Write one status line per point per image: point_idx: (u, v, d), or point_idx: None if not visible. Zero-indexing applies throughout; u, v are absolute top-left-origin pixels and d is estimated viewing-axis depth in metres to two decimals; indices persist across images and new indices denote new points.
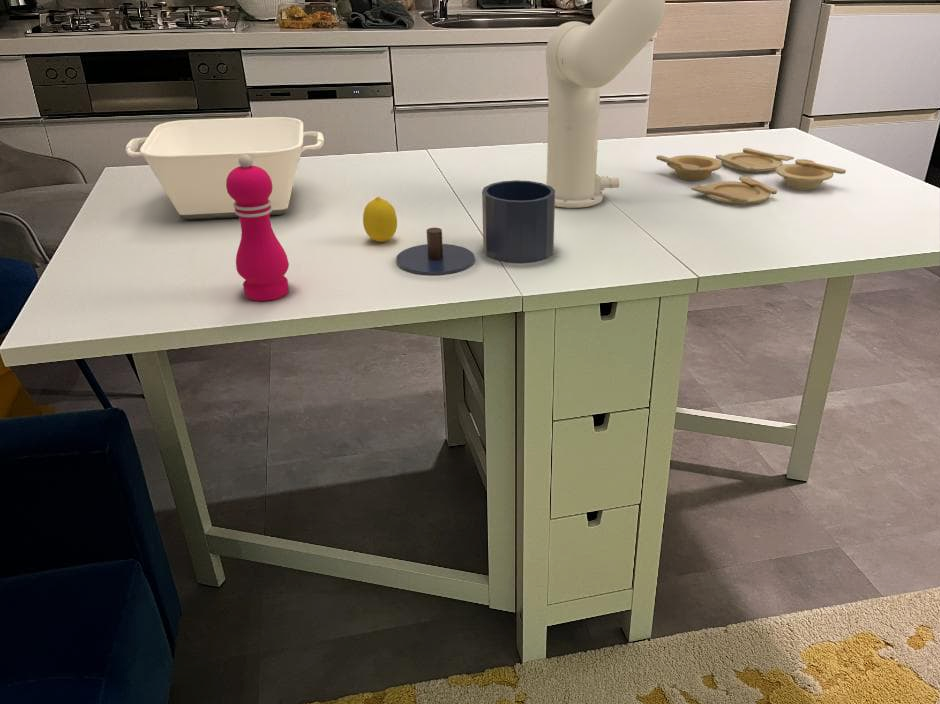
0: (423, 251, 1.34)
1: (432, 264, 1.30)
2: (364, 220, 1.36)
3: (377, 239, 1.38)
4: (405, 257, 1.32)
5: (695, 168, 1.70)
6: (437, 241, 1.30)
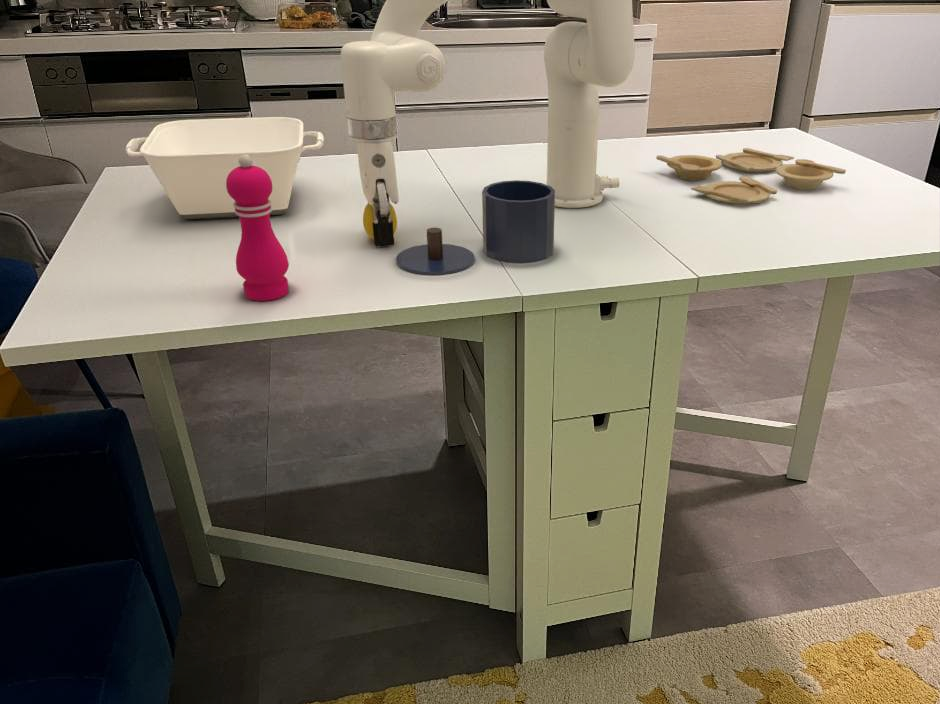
0: (423, 251, 1.34)
1: (432, 264, 1.30)
2: (364, 220, 1.36)
3: None
4: (405, 257, 1.32)
5: (695, 168, 1.70)
6: (437, 241, 1.30)
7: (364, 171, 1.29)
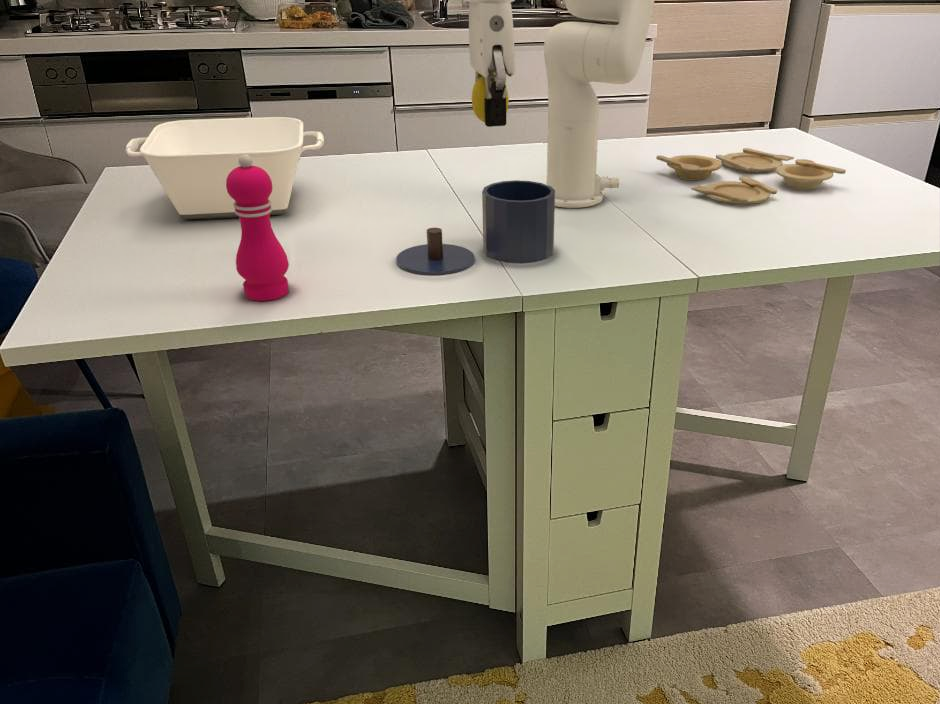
0: (423, 251, 1.34)
1: (432, 264, 1.30)
2: (474, 97, 1.24)
3: None
4: (405, 257, 1.32)
5: (695, 168, 1.70)
6: (437, 241, 1.30)
7: (480, 36, 1.17)
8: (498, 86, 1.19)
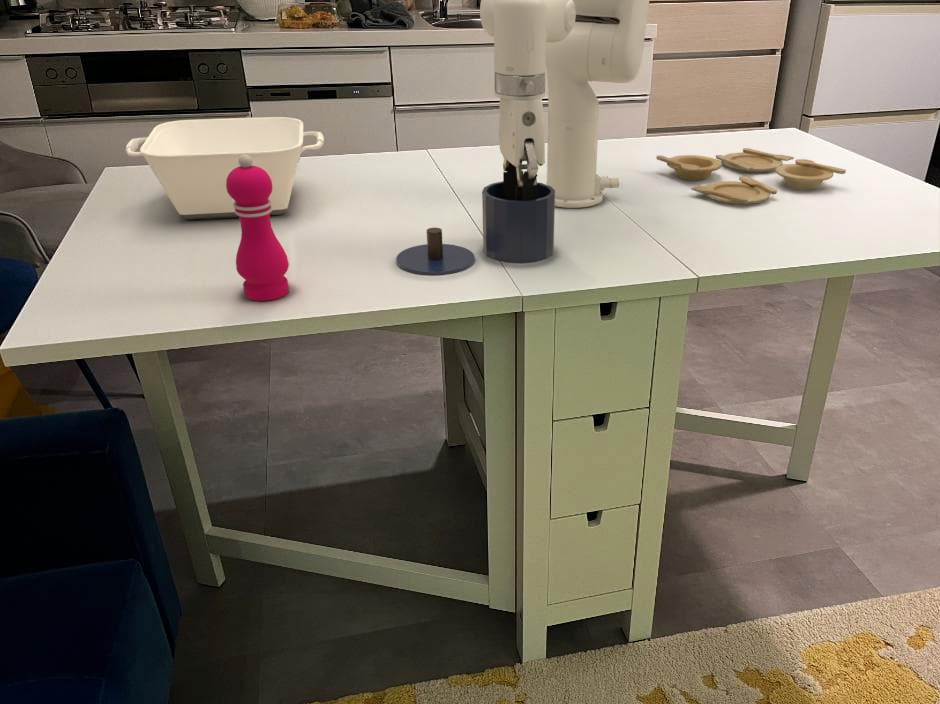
0: (423, 251, 1.34)
1: (432, 264, 1.30)
2: None
3: None
4: (405, 257, 1.32)
5: (695, 168, 1.70)
6: (437, 241, 1.30)
7: (512, 130, 1.23)
8: (530, 175, 1.24)
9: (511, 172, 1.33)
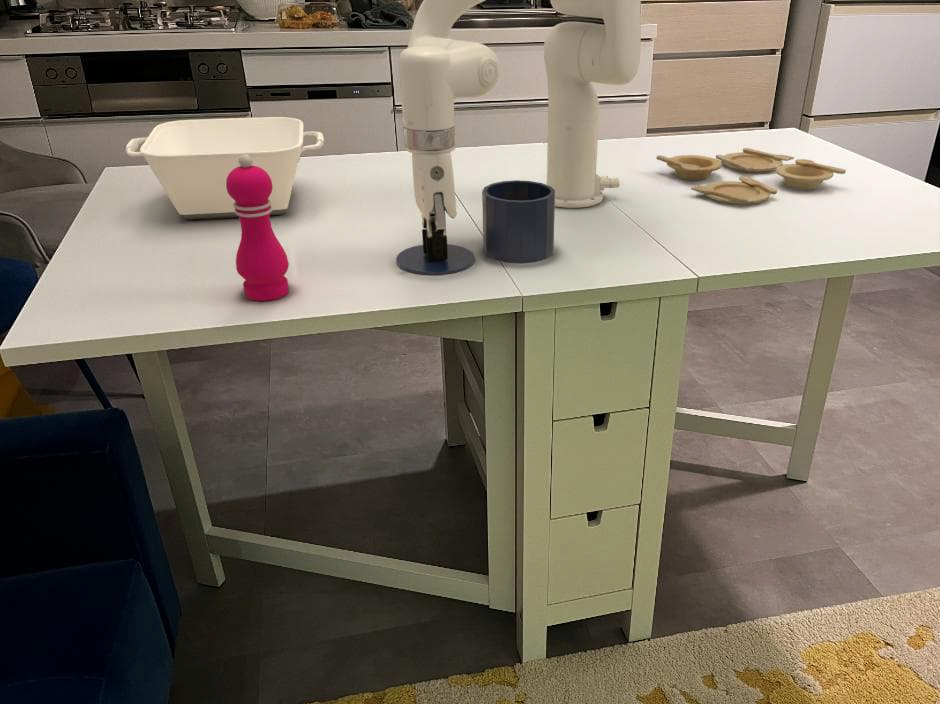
0: None
1: (432, 264, 1.30)
2: None
3: None
4: (405, 257, 1.32)
5: (695, 168, 1.70)
6: None
7: (421, 184, 1.22)
8: (438, 230, 1.25)
9: None
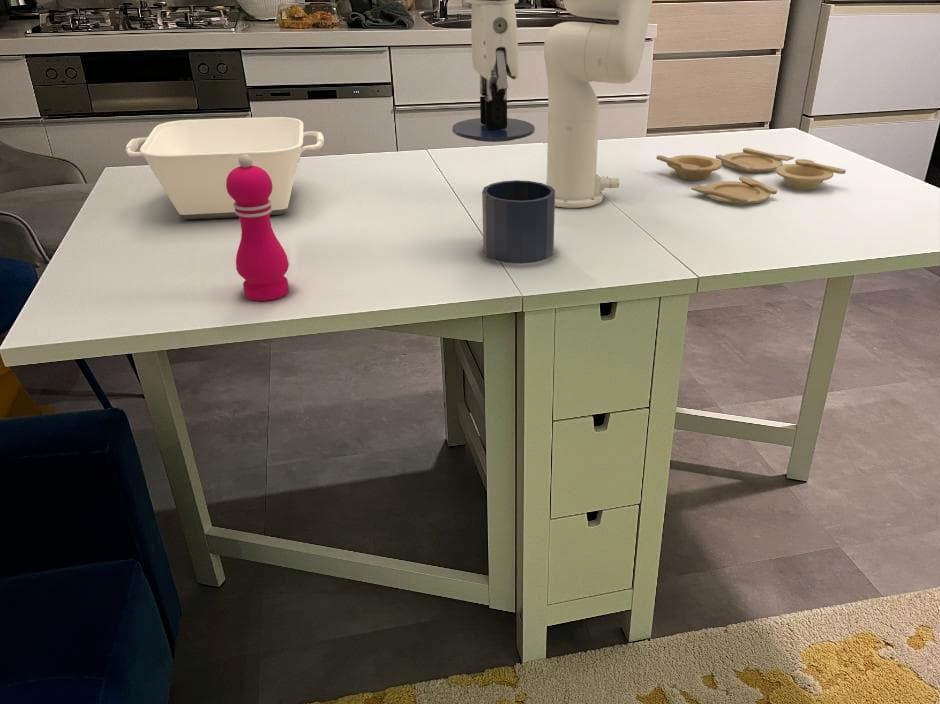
0: (480, 123, 1.27)
1: (491, 132, 1.23)
2: None
3: None
4: (462, 127, 1.25)
5: (695, 168, 1.70)
6: None
7: (483, 39, 1.15)
8: (499, 91, 1.18)
9: None
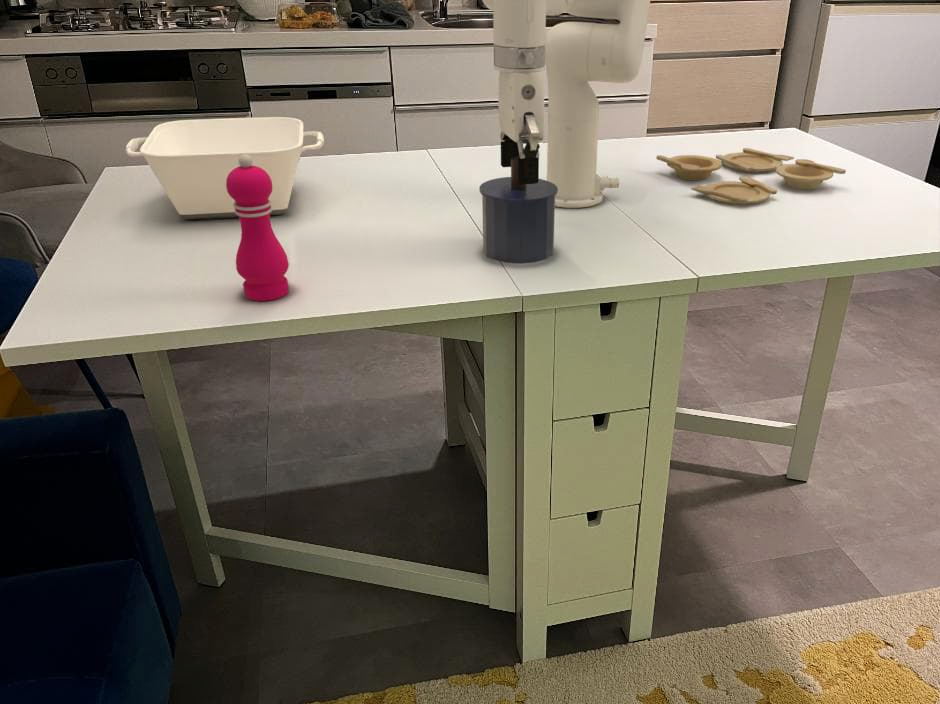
0: (505, 183, 1.33)
1: (517, 193, 1.29)
2: None
3: None
4: (488, 187, 1.31)
5: (695, 168, 1.70)
6: None
7: (512, 104, 1.21)
8: (532, 145, 1.21)
9: (508, 141, 1.32)
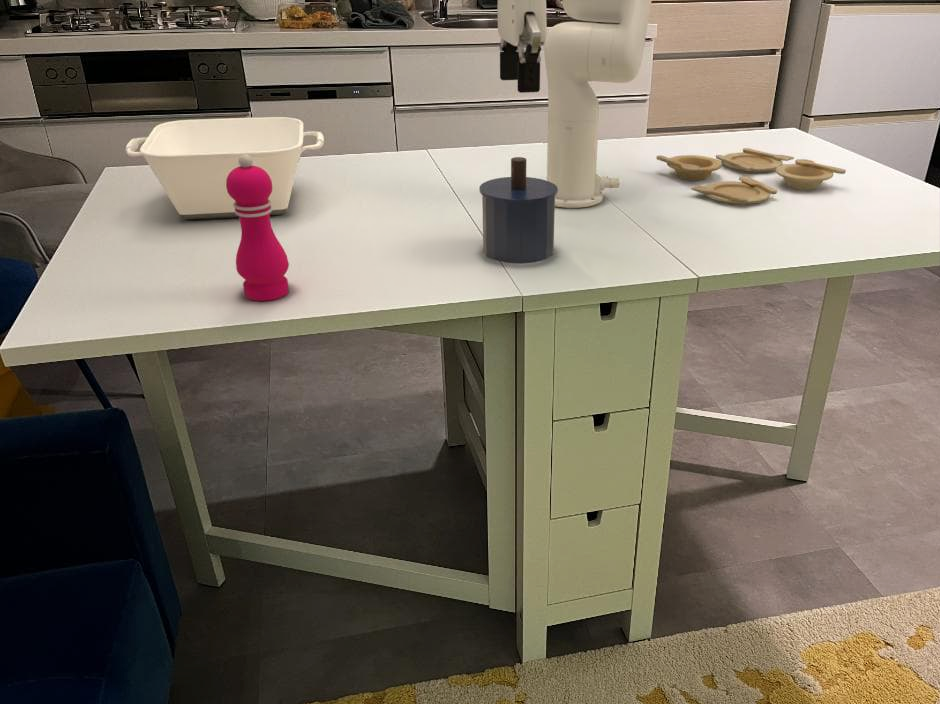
0: (505, 183, 1.33)
1: (517, 193, 1.29)
2: None
3: None
4: (488, 187, 1.31)
5: (695, 168, 1.70)
6: (521, 170, 1.29)
7: (511, 3, 1.14)
8: (533, 46, 1.14)
9: (508, 52, 1.25)
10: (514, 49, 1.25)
